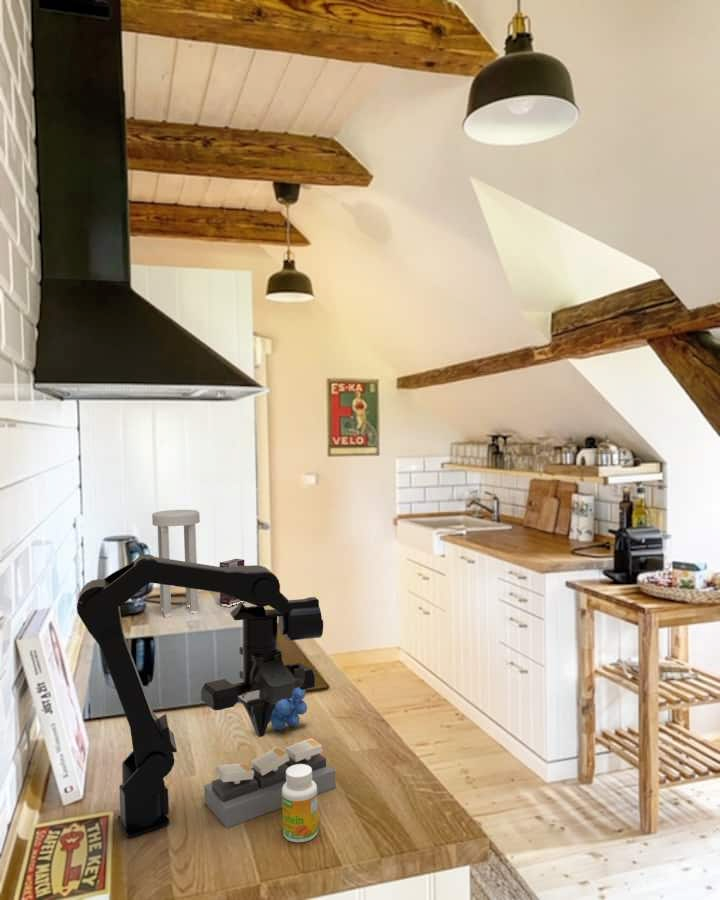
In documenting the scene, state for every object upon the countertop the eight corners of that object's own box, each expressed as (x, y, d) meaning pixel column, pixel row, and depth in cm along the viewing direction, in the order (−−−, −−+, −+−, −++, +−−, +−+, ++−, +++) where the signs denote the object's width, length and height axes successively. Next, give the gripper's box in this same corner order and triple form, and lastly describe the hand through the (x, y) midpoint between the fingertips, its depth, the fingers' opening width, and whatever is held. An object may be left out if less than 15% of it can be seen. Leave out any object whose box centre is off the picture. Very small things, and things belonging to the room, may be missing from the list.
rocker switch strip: (226, 828, 106) (225, 800, 106) (204, 803, 113) (203, 777, 113) (335, 787, 117) (334, 762, 117) (309, 767, 124) (308, 743, 124)
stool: (158, 619, 228) (155, 515, 227) (153, 609, 242) (150, 511, 242) (205, 614, 234) (202, 512, 233) (197, 604, 248) (194, 508, 248)
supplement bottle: (276, 839, 102) (274, 775, 102) (292, 820, 107) (290, 759, 107) (309, 846, 100) (307, 781, 100) (324, 826, 105) (322, 764, 105)
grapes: (255, 743, 135) (254, 683, 134) (250, 729, 141) (248, 672, 141) (313, 733, 138) (311, 675, 138) (304, 720, 145) (303, 664, 144)
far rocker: (296, 765, 116) (295, 754, 116) (286, 757, 119) (285, 746, 119) (322, 755, 119) (321, 744, 119) (311, 747, 122) (311, 737, 121)
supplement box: (229, 608, 242) (228, 563, 241) (219, 606, 244) (218, 562, 244) (246, 602, 249) (245, 559, 249) (236, 601, 252) (235, 558, 251)
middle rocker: (262, 778, 112) (260, 768, 112) (253, 770, 115) (251, 760, 115) (290, 763, 115) (287, 753, 115) (280, 755, 118) (277, 745, 118)
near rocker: (223, 785, 108) (224, 774, 108) (214, 776, 111) (216, 765, 111) (252, 782, 111) (254, 771, 111) (243, 773, 114) (244, 762, 114)
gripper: (228, 667, 102) (228, 770, 102) (333, 645, 112) (333, 739, 113) (199, 648, 111) (200, 743, 111) (299, 630, 122) (299, 716, 122)
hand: (260, 736), depth 114 cm, fingers closed
